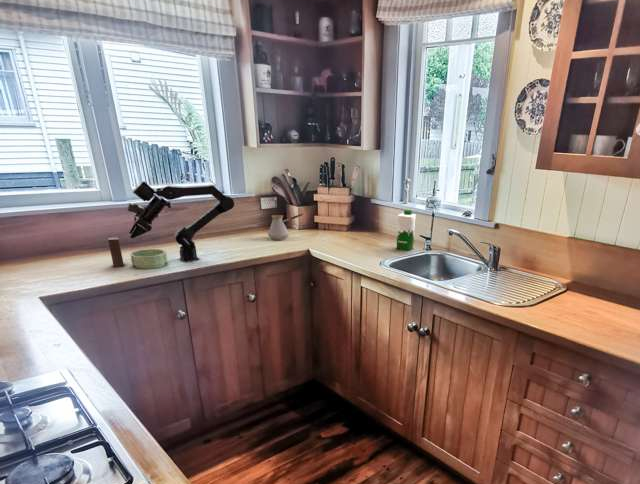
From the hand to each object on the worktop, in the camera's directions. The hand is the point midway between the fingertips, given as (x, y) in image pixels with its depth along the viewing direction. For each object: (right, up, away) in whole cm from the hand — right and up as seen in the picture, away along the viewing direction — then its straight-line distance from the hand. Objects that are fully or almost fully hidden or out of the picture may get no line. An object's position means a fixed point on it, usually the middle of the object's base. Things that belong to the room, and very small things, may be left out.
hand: (130, 235), depth 204 cm
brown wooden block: (-7, -13, +3) cm, 15 cm away
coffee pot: (+58, +11, +59) cm, 83 cm away
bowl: (+6, -12, +5) cm, 14 cm away
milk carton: (+124, +4, +48) cm, 133 cm away
